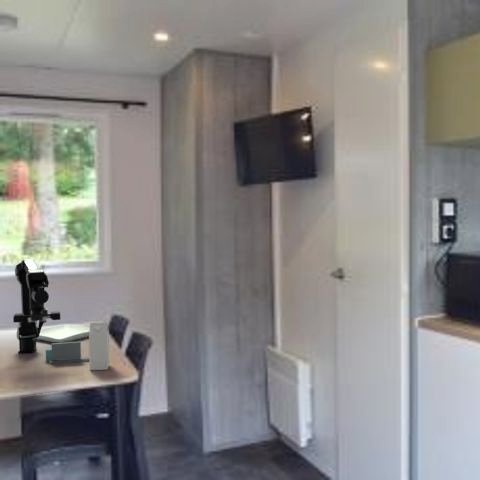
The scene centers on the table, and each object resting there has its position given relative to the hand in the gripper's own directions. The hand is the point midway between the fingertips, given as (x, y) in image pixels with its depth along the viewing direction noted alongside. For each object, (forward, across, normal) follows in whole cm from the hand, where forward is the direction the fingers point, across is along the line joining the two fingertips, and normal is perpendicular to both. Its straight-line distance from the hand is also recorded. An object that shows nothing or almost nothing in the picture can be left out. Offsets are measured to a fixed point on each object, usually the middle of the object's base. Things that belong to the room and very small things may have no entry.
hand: (37, 336), depth 254 cm
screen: (+10, +11, 0) cm, 16 cm away
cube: (+12, +6, +5) cm, 14 cm away
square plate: (+12, +11, +50) cm, 52 cm away
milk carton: (+12, +24, -14) cm, 31 cm away
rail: (+12, +15, 0) cm, 19 cm away
